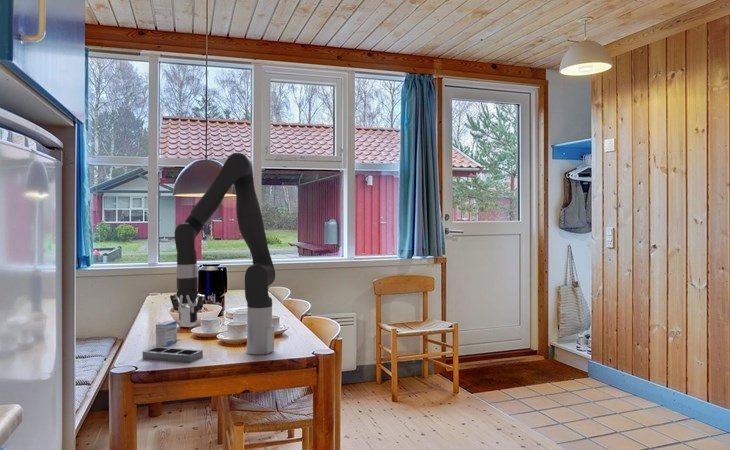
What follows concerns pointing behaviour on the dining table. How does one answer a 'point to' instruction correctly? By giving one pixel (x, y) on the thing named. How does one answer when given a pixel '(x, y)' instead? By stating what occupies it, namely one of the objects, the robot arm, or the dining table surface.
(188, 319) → the light grey block
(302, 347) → the dining table surface
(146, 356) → the grey compartment tray
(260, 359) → the dining table surface
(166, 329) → the medicine box
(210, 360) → the dining table surface
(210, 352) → the dining table surface
